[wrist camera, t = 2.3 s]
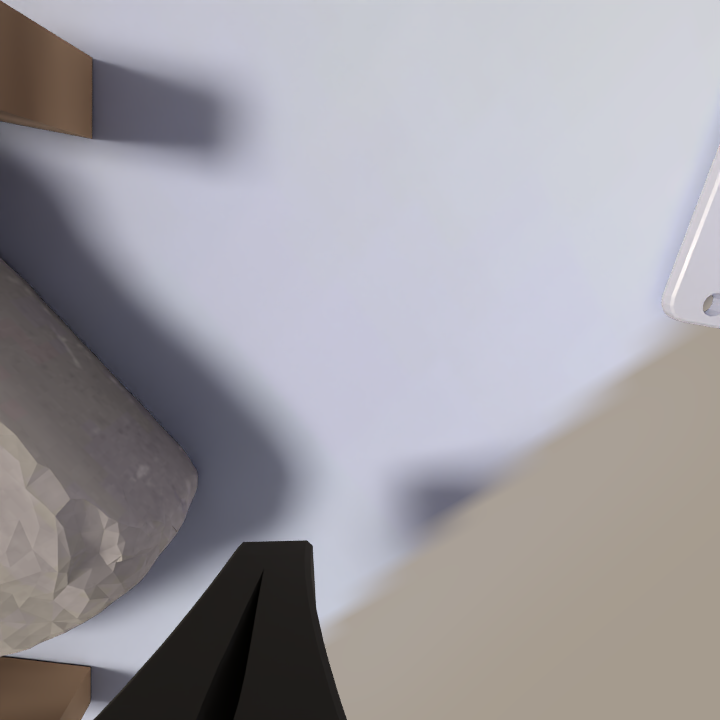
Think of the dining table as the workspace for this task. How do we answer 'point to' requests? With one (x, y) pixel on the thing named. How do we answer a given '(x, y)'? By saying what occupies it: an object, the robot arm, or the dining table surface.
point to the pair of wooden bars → (74, 116)
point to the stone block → (74, 477)
